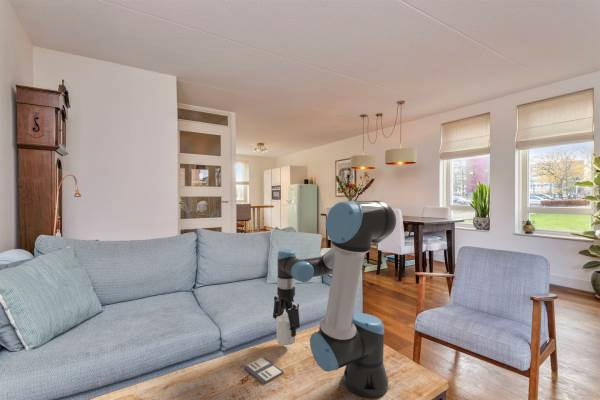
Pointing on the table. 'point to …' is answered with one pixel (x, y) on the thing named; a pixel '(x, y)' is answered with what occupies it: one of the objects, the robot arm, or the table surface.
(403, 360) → the table surface
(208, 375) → the table surface
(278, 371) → the label board
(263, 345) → the table surface
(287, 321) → the white cup
